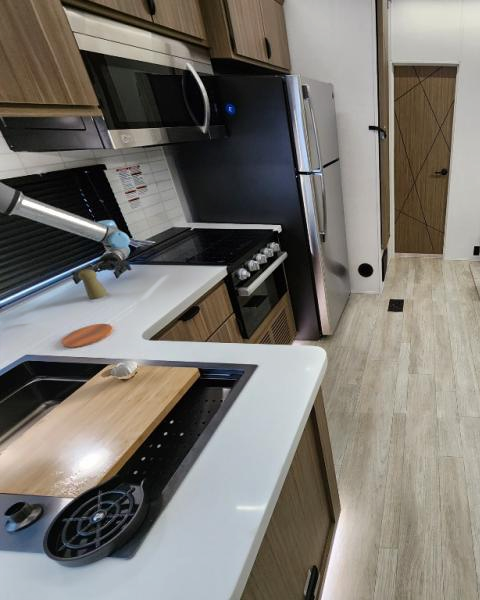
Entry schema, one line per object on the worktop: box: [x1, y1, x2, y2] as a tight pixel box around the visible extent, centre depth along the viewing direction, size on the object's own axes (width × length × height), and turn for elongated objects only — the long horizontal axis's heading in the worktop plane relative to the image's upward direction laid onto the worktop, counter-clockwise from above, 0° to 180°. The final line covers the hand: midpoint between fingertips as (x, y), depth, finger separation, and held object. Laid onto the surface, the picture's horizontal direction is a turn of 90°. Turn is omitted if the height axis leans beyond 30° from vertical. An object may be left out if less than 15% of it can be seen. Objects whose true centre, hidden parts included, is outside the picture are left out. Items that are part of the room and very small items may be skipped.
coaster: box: [60, 323, 114, 349], centre depth 109 cm, size 13×13×1 cm
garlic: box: [110, 360, 139, 377], centre depth 91 cm, size 6×5×5 cm
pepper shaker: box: [78, 270, 108, 300], centre depth 132 cm, size 6×6×11 cm
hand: (95, 278), depth 135 cm, fingers open, 13 cm apart
